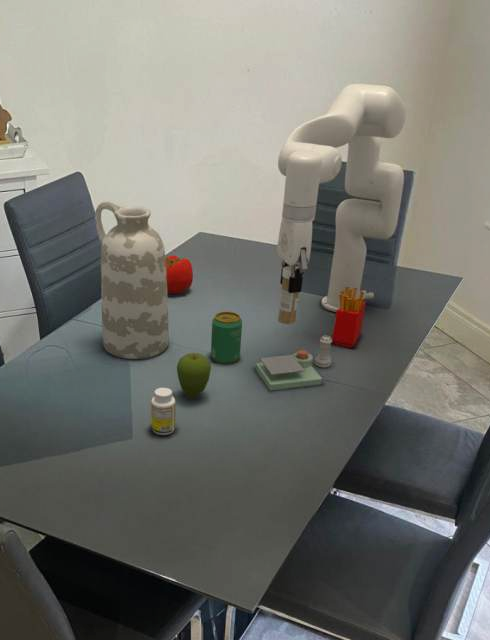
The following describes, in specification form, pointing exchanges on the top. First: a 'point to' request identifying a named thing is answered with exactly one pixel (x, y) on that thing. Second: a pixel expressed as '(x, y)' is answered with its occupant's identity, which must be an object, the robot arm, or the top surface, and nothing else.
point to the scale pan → (282, 365)
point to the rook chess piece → (324, 353)
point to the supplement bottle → (163, 411)
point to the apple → (193, 373)
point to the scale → (291, 375)
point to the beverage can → (226, 337)
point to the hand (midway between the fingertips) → (290, 287)
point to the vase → (133, 284)
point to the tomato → (178, 274)
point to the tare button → (302, 354)
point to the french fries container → (348, 318)
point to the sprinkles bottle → (287, 299)
